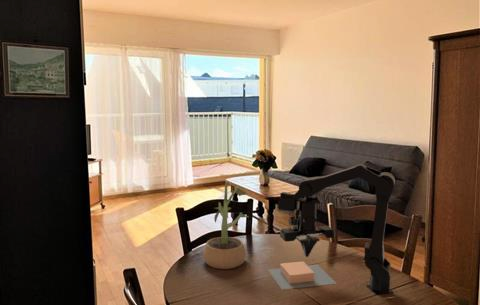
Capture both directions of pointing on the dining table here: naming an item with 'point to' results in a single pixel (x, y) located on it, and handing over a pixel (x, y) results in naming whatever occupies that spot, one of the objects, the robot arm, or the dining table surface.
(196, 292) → the dining table surface
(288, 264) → the tile
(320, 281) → the mat
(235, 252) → the potted plant
